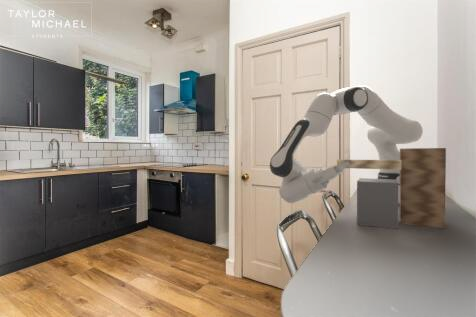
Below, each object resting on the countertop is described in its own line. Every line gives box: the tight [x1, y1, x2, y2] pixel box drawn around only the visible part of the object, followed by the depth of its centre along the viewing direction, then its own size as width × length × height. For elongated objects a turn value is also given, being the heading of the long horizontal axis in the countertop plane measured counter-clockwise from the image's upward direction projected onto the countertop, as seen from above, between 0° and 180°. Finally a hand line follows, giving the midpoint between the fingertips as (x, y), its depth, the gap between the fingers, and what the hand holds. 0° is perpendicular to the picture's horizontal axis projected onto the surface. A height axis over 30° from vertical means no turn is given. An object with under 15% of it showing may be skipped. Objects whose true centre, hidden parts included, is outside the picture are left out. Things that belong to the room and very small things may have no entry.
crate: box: [356, 177, 399, 230], centre depth 88 cm, size 12×10×15 cm
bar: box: [336, 159, 401, 170], centre depth 89 cm, size 20×3×3 cm, turn 59°
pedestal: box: [398, 147, 447, 229], centre depth 88 cm, size 12×10×26 cm
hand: (350, 162), depth 92 cm, fingers closed on bar, 3 cm apart
